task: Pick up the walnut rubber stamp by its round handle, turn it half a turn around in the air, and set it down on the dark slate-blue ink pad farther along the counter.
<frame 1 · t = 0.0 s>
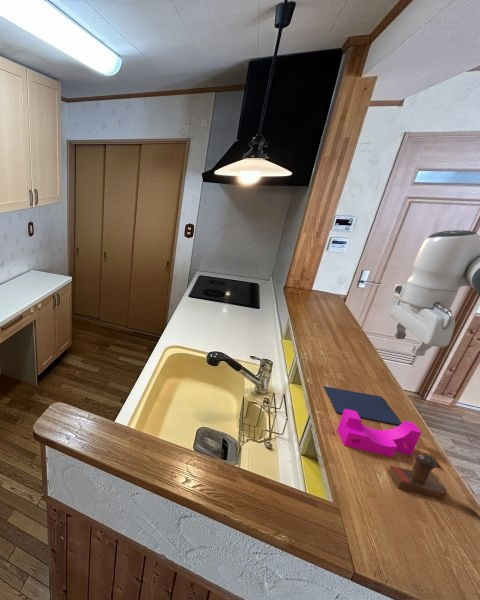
hand: (407, 345, 85), 26 cm above the worktop, tool pointing down, fingers open, 8 cm apart
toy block: (373, 445, 87), on the worktop
ink pad: (359, 405, 102), on the worktop
stamp: (414, 485, 76), on the worktop
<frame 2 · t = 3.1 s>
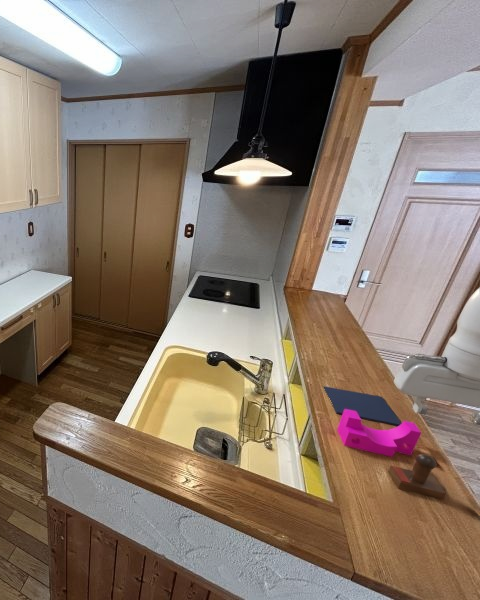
hand: (446, 417, 69), 20 cm above the worktop, tool pointing down, fingers open, 8 cm apart
nothing on the worktop moved.
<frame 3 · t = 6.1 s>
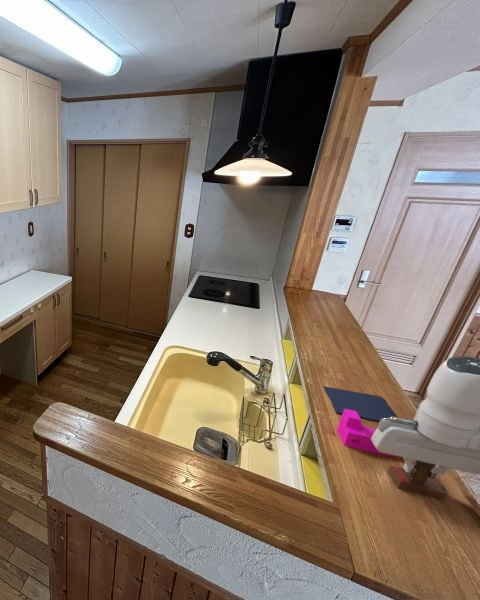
hand: (419, 473, 75), 4 cm above the worktop, tool pointing down, fingers closed on stamp, 2 cm apart
stamp: (414, 485, 76), on the worktop, touching gripper
everything else where it was.
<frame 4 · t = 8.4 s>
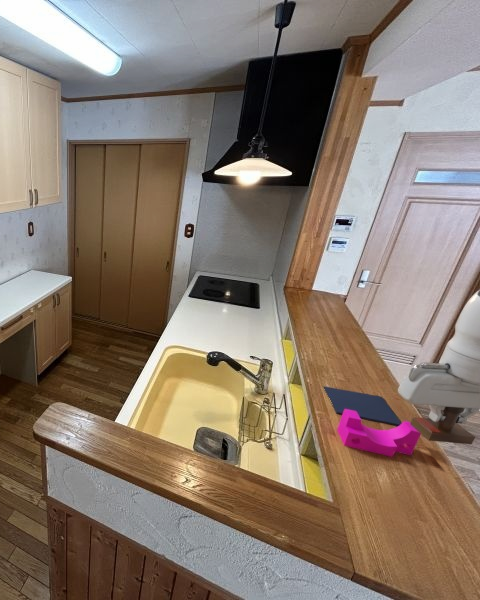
hand: (446, 420, 69), 19 cm above the worktop, tool pointing down, fingers closed on stamp, 2 cm apart
stamp: (439, 433, 71), point 15 cm above the worktop, touching gripper
everything else where it was.
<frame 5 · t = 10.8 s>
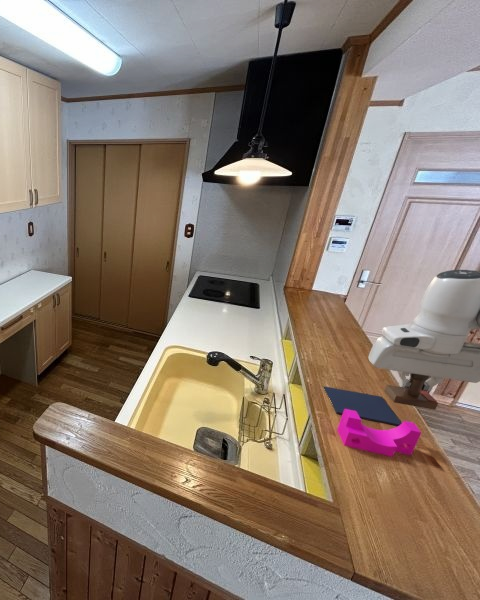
hand: (413, 388, 80), 19 cm above the worktop, tool pointing down, fingers closed on stamp, 2 cm apart
stamp: (408, 400, 81), point 16 cm above the worktop, touching gripper
everything else where it was.
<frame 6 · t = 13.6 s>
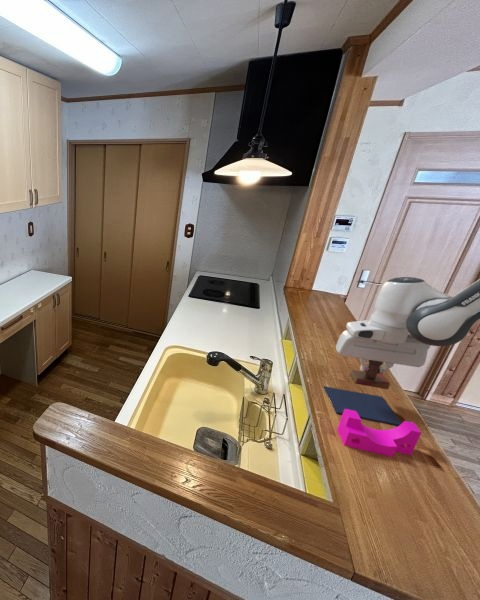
hand: (371, 372, 98), 12 cm above the worktop, tool pointing down, fingers closed on stamp, 2 cm apart
stamp: (368, 382, 99), point 9 cm above the worktop, touching gripper
everything else where it was.
when the fingers open (4 cm above the worktop, at t = 15.7 s): stamp stays where it is, resting on ink pad.
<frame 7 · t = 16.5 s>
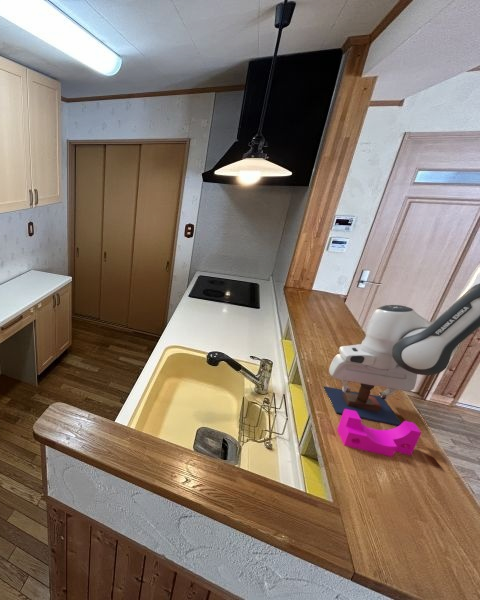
hand: (363, 394, 101), 4 cm above the worktop, tool pointing down, fingers open, 8 cm apart
stamp: (360, 404, 102), point 1 cm above the worktop, touching ink pad
everything else where it was.
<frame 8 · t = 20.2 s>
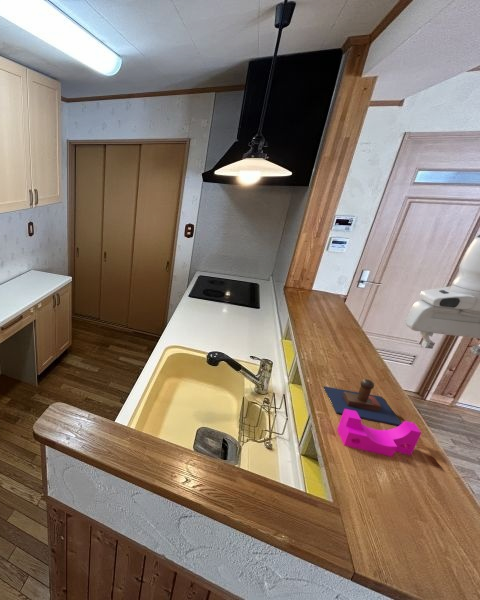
hand: (450, 350, 81), 27 cm above the worktop, tool pointing down, fingers open, 8 cm apart
nothing on the worktop moved.
at the end: stamp inside the target area on the ink pad (0.0 cm from its centre), point 0.6 cm above the ink pad's base; stamp tilted 0°; the gripper is holding nothing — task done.
